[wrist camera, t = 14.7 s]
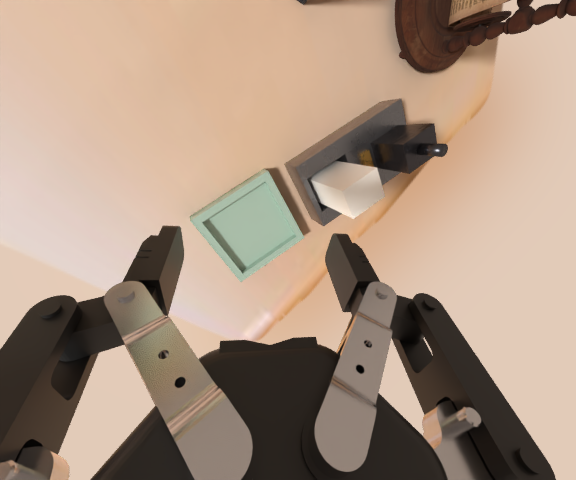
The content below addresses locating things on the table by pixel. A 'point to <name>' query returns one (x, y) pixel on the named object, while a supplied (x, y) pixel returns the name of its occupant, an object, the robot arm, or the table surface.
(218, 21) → the table surface
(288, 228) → the tray
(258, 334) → the table surface
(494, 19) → the turned wooden stand
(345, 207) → the plug
